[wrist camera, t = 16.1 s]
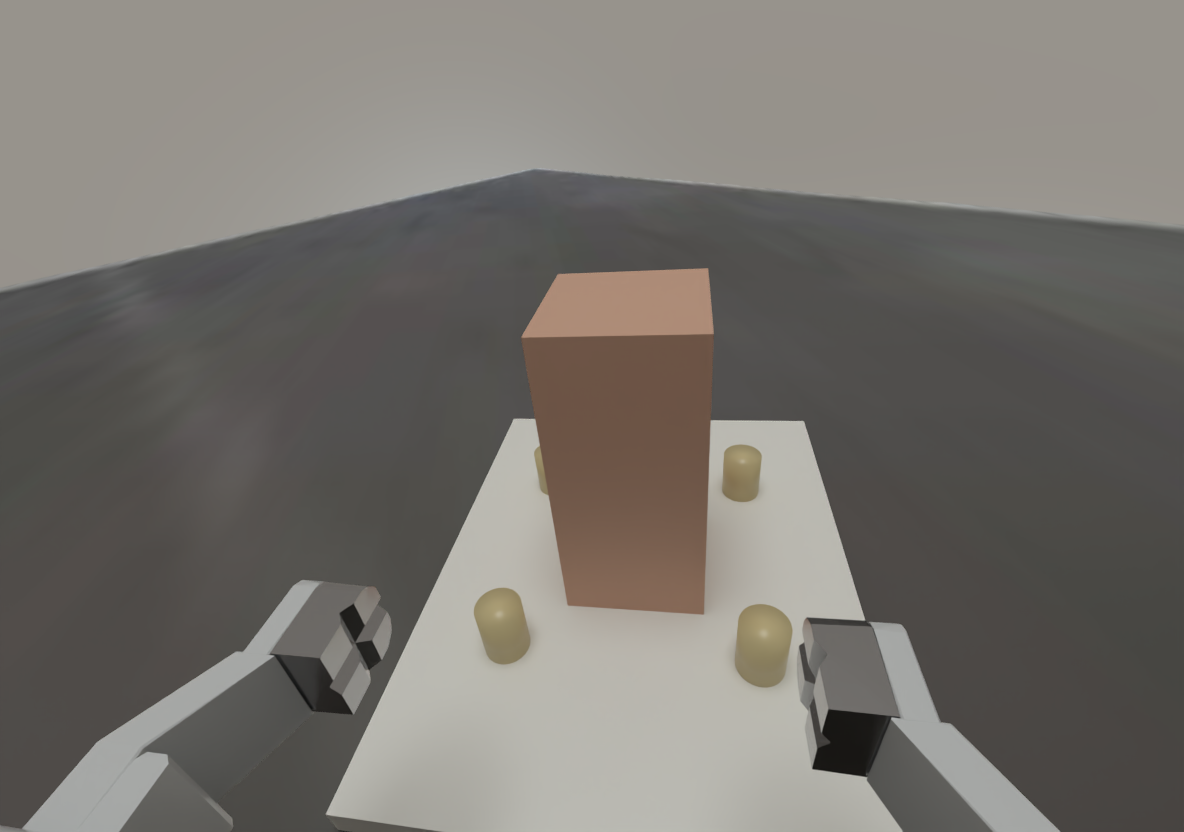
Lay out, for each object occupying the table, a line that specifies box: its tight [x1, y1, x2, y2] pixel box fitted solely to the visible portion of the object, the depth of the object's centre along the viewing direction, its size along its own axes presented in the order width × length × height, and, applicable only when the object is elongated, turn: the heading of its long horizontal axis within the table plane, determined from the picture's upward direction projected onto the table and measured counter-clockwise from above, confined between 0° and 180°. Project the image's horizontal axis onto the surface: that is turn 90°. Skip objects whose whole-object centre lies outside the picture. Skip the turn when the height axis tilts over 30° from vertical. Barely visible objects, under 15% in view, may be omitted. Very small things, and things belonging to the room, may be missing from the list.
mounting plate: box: [326, 419, 903, 832], centre depth 22 cm, size 16×20×3 cm
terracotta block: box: [521, 268, 714, 615], centre depth 19 cm, size 5×5×11 cm
